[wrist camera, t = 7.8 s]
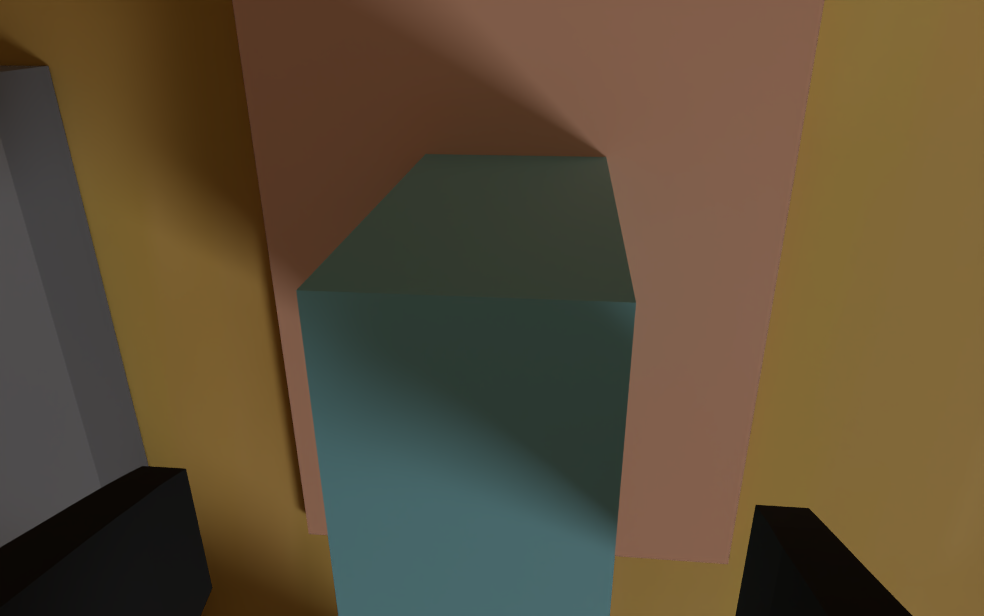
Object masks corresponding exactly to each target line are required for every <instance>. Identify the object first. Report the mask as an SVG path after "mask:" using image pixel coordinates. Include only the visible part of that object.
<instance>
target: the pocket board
mask: <svg viewBox="0 0 984 616" xmlns="http://www.w3.org/2000/svg"><path fill="white" fill-rule="evenodd" d="M141 466H148V462H147V458H146V454H145V450H144V446H143V442H142V438H141V434H140V430H139V426H138V422H137V418H136V415H135V411H134V407H133V403H132V399H131V395H130V391H129V387H128V383H127V379H126V375H125V371H124V367H123V363H122V359H121V355H120V351H119V347H118V343H117V339H116V335H115V331H114V327H113V323H112V319H111V315H110V311H109V307H108V303H107V299H106V295H105V291H104V287H103V283H102V279H101V275H100V271H99V267H98V263H97V259H96V255H95V251H94V247H93V243H92V239H91V235H90V231H89V227H88V223H87V219H86V215H85V211H84V207H83V203H82V199H81V195H80V191H79V187H78V183H77V179H76V175H75V171H74V167H73V163H72V159H71V155H70V151H69V147H68V143H67V139H66V135H65V131H64V127H63V123H62V119H61V115H60V111H59V107H58V103H57V99H56V95H55V91H54V87H53V83H52V79H51V75H50V71H49V67H48V66H0V547H2V546H3V545H5V544H7V543H8V542H10V541H12V540H13V539H15V538H17V537H19V536H20V535H22V534H24V533H25V532H27V531H29V530H30V529H32V528H34V527H36V526H37V525H39V524H41V523H42V522H44V521H46V520H47V519H49V518H51V517H52V516H54V515H56V514H57V513H59V512H61V511H62V510H64V509H66V508H67V507H69V506H71V505H73V504H74V503H76V502H78V501H79V500H81V499H83V498H84V497H86V496H88V495H90V494H91V493H93V492H95V491H96V490H98V489H100V488H102V487H103V486H105V485H107V484H109V483H111V482H112V481H114V480H116V479H118V478H120V477H121V476H123V475H125V474H127V473H129V472H131V471H133V470H135V469H137V468H139V467H141Z"/></svg>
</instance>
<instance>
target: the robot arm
mask: <svg viewBox="0 0 984 616" xmlns="http://www.w3.org/2000/svg"><path fill="white" fill-rule="evenodd" d="M211 590H212V584H211V580H210V575H209V571H208V566H207V562H206V557H205V553H204V548H203V544H202V539H201V535H200V530H199V526H198V521H197V517H196V512H195V508H194V503H193V499H192V494H191V490H190V485H189V481H188V476H187V472H186V469H182V468H166V467H150V466H141V467H139V468H137V469H135V470H133V471H131V472H129V473H127V474H125V475H123V476H121V477H120V478H118V479H116V480H114V481H112V482H111V483H109V484H107V485H105V486H103V487H102V488H100V489H98V490H96V491H95V492H93V493H91V494H90V495H88V496H86V497H84V498H83V499H81V500H79V501H78V502H76V503H74V504H73V505H71V506H69V507H67V508H66V509H64V510H62V511H61V512H59V513H57V514H56V515H54V516H52V517H51V518H49V519H47V520H46V521H44V522H42V523H41V524H39V525H37V526H36V527H34V528H32V529H30V530H29V531H27V532H25V533H24V534H22V535H20V536H19V537H17V538H15V539H13V540H12V541H10V542H8V543H7V544H5V545H3V546H2V547H0V616H201V613H202V611H203V609H204V606H205V604H206V601H207V599H208V597H209V594H210V592H211ZM736 616H912V615H911V614H910V613H909V612H908V611H907V610H906V609H905V608H904V607H903V606H902V605H901V604H900V603H899V602H898V601H897V600H896V599H895V597H894V596H893V595H892V594H891V593H890V592H889V591H888V590H887V589H886V588H885V587H884V586H883V585H882V584H881V583H880V582H879V581H878V580H877V579H876V578H875V577H874V576H873V575H872V574H871V573H870V572H869V571H868V570H867V568H866V567H865V566H864V565H863V564H862V563H861V562H860V561H859V560H858V559H857V558H856V557H855V556H854V555H853V554H852V553H851V552H850V551H849V550H848V549H847V547H846V546H845V545H844V544H843V543H842V542H841V541H840V540H839V539H838V538H837V537H836V536H835V535H834V534H833V533H832V532H831V531H830V530H829V529H828V527H827V526H826V525H825V524H824V523H823V522H822V521H821V520H820V519H819V518H818V517H817V516H816V515H815V514H814V513H813V512H812V511H811V510H810V509H809V508H797V507H781V506H765V505H756V506H755V512H754V517H753V523H752V528H751V534H750V539H749V545H748V550H747V556H746V561H745V567H744V572H743V578H742V583H741V589H740V594H739V600H738V605H737V610H736Z"/></svg>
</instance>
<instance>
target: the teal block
mask: <svg viewBox="0 0 984 616" xmlns="http://www.w3.org/2000/svg"><path fill="white" fill-rule="evenodd" d="M296 293H297V301H298V309H299V316H300V324H301V332H302V340H303V347H304V355H305V363H306V370H307V378H308V386H309V393H310V401H311V409H312V416H313V424H314V432H315V440H316V447H317V455H318V463H319V470H320V478H321V486H322V493H323V501H324V509H325V517H326V524H327V532H328V540H329V547H330V555H331V563H332V570H333V578H334V586H335V593H336V601H337V609H338V616H610V606H611V594H612V582H613V570H614V558H615V546H616V535H617V523H618V511H619V499H620V487H621V476H622V464H623V452H624V440H625V428H626V416H627V405H628V393H629V381H630V369H631V357H632V345H633V334H634V322H635V310H636V300H635V295H634V290H633V285H632V280H631V275H630V270H629V265H628V261H627V256H626V251H625V246H624V241H623V236H622V231H621V226H620V222H619V217H618V212H617V207H616V202H615V197H614V192H613V187H612V183H611V178H610V173H609V168H608V163H607V158H606V157H580V156H516V155H453V154H425V155H424V156H423V157H422V158H421V159H420V160H419V161H418V162H417V163H416V165H415V166H414V167H413V168H412V169H411V170H410V171H409V172H408V173H407V174H406V175H405V176H404V177H403V178H402V179H401V180H400V181H399V182H398V184H397V185H396V186H395V187H394V188H393V189H392V190H391V191H390V192H389V193H388V194H387V195H386V196H385V197H384V198H383V199H382V200H381V201H380V202H379V204H378V205H377V206H376V207H375V208H374V209H373V210H372V211H371V212H370V213H369V214H368V215H367V216H366V217H365V218H364V219H363V220H362V221H361V223H360V224H359V225H358V226H357V227H356V228H355V229H354V230H353V231H352V232H351V233H350V234H349V235H348V236H347V237H346V238H345V239H344V240H343V241H342V243H341V244H340V245H339V246H338V247H337V248H336V249H335V250H334V251H333V252H332V253H331V254H330V255H329V256H328V257H327V258H326V259H325V260H324V262H323V263H322V264H321V265H320V266H319V267H318V268H317V269H316V270H315V271H314V272H313V273H312V274H311V275H310V276H309V277H308V278H307V279H306V280H305V282H304V283H303V284H302V285H301V286H300V287H299V288H298V289H297V290H296Z"/></svg>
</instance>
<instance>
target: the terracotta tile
mask: <svg viewBox="0 0 984 616" xmlns="http://www.w3.org/2000/svg"><path fill="white" fill-rule="evenodd" d="M232 2H233V9H234V16H235V23H236V30H237V37H238V44H239V51H240V58H241V65H242V72H243V79H244V86H245V93H246V100H247V107H248V114H249V121H250V128H251V135H252V141H253V148H254V155H255V162H256V169H257V176H258V183H259V190H260V197H261V204H262V211H263V218H264V225H265V232H266V239H267V246H268V253H269V260H270V267H271V274H272V281H273V287H274V294H275V301H276V308H277V315H278V322H279V329H280V336H281V343H282V350H283V357H284V364H285V371H286V378H287V385H288V392H289V399H290V406H291V413H292V420H293V427H294V433H295V440H296V447H297V454H298V461H299V468H300V475H301V482H302V489H303V496H304V503H305V510H306V517H307V524H308V531H309V534H318V535H328V532H327V524H326V517H325V509H324V501H323V493H322V486H321V478H320V470H319V463H318V455H317V447H316V440H315V432H314V424H313V416H312V409H311V401H310V393H309V386H308V378H307V370H306V363H305V355H304V347H303V340H302V332H301V324H300V316H299V309H298V301H297V293H296V290H297V289H298V288H299V287H300V286H301V285H302V284H303V283H304V282H305V280H306V279H307V278H308V277H309V276H310V275H311V274H312V273H313V272H314V271H315V270H316V269H317V268H318V267H319V266H320V265H321V264H322V263H323V262H324V260H325V259H326V258H327V257H328V256H329V255H330V254H331V253H332V252H333V251H334V250H335V249H336V248H337V247H338V246H339V245H340V244H341V243H342V241H343V240H344V239H345V238H346V237H347V236H348V235H349V234H350V233H351V232H352V231H353V230H354V229H355V228H356V227H357V226H358V225H359V224H360V223H361V221H362V220H363V219H364V218H365V217H366V216H367V215H368V214H369V213H370V212H371V211H372V210H373V209H374V208H375V207H376V206H377V205H378V204H379V202H380V201H381V200H382V199H383V198H384V197H385V196H386V195H387V194H388V193H389V192H390V191H391V190H392V189H393V188H394V187H395V186H396V185H397V184H398V182H399V181H400V180H401V179H402V178H403V177H404V176H405V175H406V174H407V173H408V172H409V171H410V170H411V169H412V168H413V167H414V166H415V165H416V163H417V162H418V161H419V160H420V159H421V158H422V157H423V156H424V155H425V154H453V155H516V156H580V157H606V158H607V163H608V168H609V173H610V178H611V183H612V187H613V192H614V197H615V202H616V207H617V212H618V217H619V222H620V226H621V231H622V236H623V241H624V246H625V251H626V256H627V261H628V265H629V270H630V275H631V280H632V285H633V290H634V295H635V300H636V310H635V322H634V334H633V345H632V357H631V369H630V381H629V393H628V405H627V416H626V428H625V440H624V452H623V464H622V476H621V487H620V499H619V511H618V523H617V535H616V546H615V556H623V557H637V558H651V559H665V560H679V561H692V562H706V563H720V564H728V561H729V555H730V549H731V543H732V537H733V531H734V525H735V520H736V514H737V508H738V502H739V496H740V490H741V485H742V479H743V473H744V467H745V461H746V455H747V450H748V444H749V438H750V432H751V426H752V420H753V415H754V409H755V403H756V397H757V391H758V385H759V379H760V374H761V368H762V362H763V356H764V350H765V344H766V339H767V333H768V327H769V321H770V315H771V309H772V304H773V298H774V292H775V286H776V280H777V274H778V269H779V263H780V257H781V251H782V245H783V239H784V233H785V228H786V222H787V216H788V210H789V204H790V198H791V193H792V187H793V181H794V175H795V169H796V163H797V158H798V152H799V146H800V140H801V134H802V128H803V123H804V117H805V111H806V105H807V99H808V93H809V87H810V82H811V76H812V70H813V64H814V58H815V52H816V47H817V41H818V35H819V29H820V23H821V17H822V12H823V6H824V0H232Z"/></svg>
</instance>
